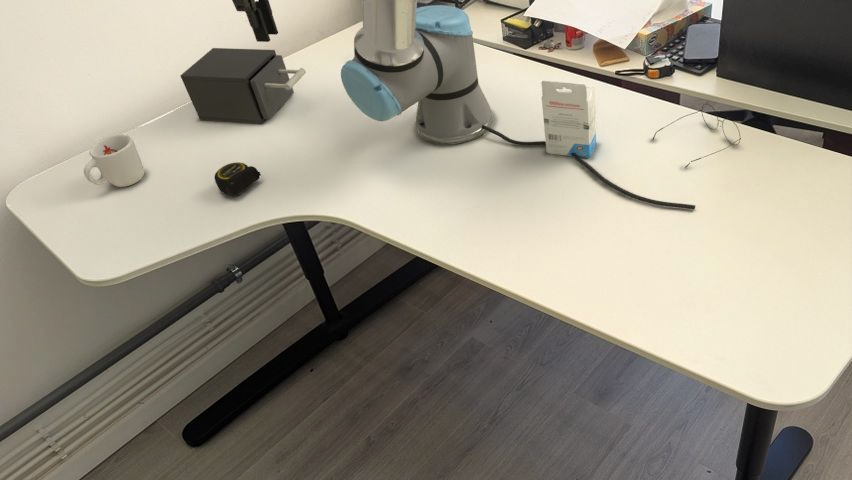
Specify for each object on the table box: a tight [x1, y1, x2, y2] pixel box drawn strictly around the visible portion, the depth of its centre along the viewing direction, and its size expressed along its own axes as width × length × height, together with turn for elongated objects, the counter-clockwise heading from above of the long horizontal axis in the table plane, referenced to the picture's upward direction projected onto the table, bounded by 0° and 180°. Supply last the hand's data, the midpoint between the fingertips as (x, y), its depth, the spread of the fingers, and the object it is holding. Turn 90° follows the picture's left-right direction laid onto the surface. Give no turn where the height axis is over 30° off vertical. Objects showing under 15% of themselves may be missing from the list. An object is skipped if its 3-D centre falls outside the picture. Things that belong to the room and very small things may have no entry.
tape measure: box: [214, 161, 262, 197], centre depth 136 cm, size 7×7×4 cm
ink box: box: [541, 80, 597, 159], centre depth 129 cm, size 9×5×15 cm, turn 68°
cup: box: [83, 133, 145, 188], centre depth 140 cm, size 11×8×8 cm
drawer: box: [248, 54, 307, 120], centre depth 155 cm, size 21×11×9 cm, turn 74°
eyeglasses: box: [651, 103, 742, 169], centre depth 129 cm, size 11×13×5 cm
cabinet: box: [180, 47, 278, 125], centre depth 157 cm, size 16×13×11 cm
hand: (267, 37), depth 146 cm, fingers open, 3 cm apart
